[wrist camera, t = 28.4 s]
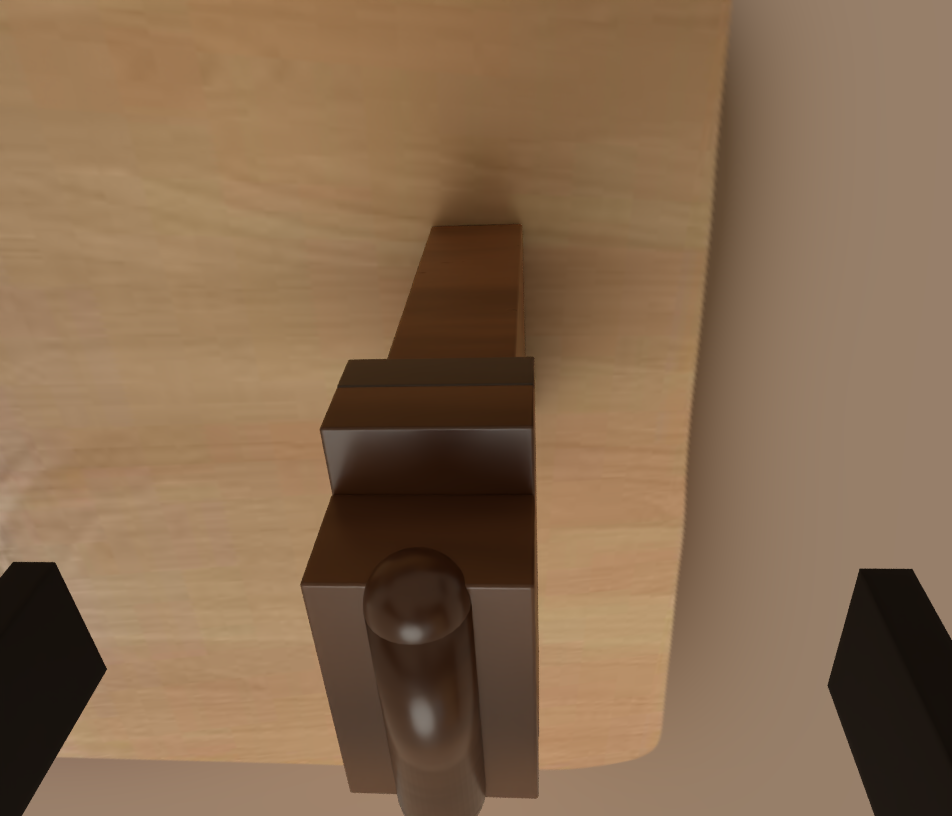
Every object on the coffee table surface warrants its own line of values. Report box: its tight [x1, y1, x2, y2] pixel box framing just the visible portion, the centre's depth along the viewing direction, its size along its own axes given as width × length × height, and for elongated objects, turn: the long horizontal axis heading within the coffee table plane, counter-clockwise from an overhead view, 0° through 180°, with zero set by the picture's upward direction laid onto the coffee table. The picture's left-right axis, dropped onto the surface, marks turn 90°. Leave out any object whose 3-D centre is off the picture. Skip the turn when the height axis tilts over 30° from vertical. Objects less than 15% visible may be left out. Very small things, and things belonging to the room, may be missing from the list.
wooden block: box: [387, 224, 525, 359], centre depth 31 cm, size 10×4×14 cm, turn 3°
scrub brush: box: [300, 357, 539, 816], centre depth 21 cm, size 12×5×8 cm, turn 3°
